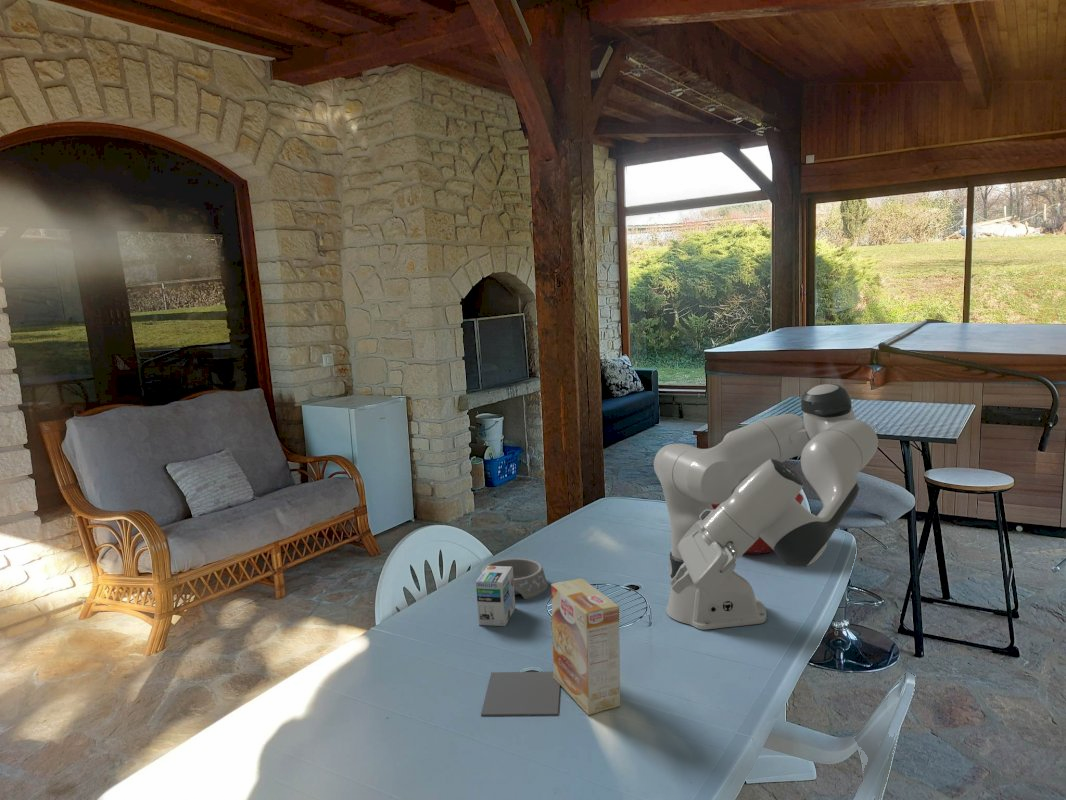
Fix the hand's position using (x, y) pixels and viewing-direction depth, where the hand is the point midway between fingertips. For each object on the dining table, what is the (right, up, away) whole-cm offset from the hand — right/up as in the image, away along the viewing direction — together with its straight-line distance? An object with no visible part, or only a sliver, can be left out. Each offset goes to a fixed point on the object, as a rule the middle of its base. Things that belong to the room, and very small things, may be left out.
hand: (673, 588), depth 134 cm
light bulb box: (-34, -17, +41) cm, 56 cm away
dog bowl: (-31, -15, +59) cm, 68 cm away
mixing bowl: (+38, -8, +79) cm, 88 cm away
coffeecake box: (-16, -21, +5) cm, 27 cm away
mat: (-28, -22, +6) cm, 36 cm away
